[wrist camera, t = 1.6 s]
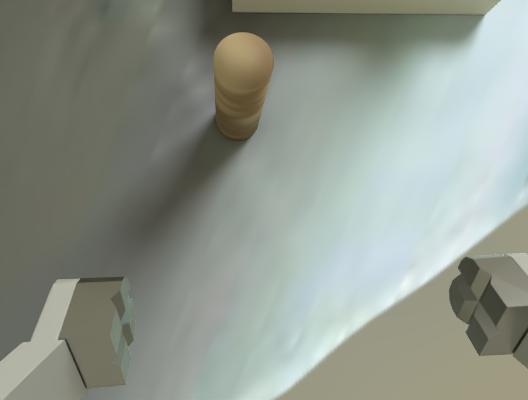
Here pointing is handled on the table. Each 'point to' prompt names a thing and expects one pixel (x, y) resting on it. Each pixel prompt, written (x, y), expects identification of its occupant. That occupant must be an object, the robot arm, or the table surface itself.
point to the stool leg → (241, 83)
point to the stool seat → (366, 6)
